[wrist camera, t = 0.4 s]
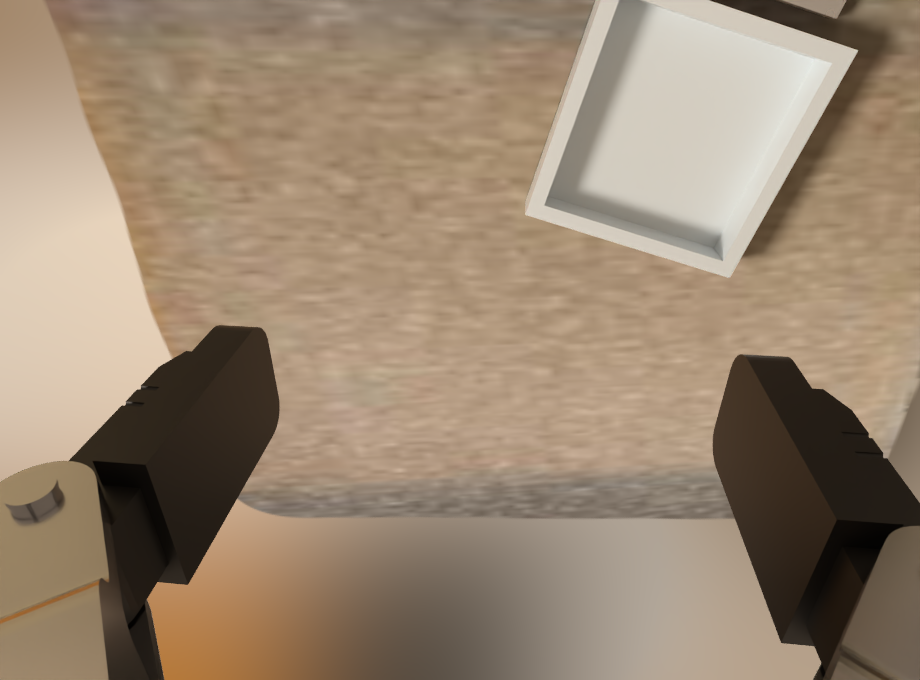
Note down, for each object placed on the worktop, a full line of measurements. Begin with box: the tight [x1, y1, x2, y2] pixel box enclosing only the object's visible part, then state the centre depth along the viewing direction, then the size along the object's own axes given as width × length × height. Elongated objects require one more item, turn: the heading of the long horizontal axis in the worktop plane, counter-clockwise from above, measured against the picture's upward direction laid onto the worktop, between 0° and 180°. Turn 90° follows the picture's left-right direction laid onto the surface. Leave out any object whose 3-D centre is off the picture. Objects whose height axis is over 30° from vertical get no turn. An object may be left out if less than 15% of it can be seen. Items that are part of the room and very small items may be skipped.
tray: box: [525, 0, 858, 278], centre depth 32 cm, size 12×12×2 cm
